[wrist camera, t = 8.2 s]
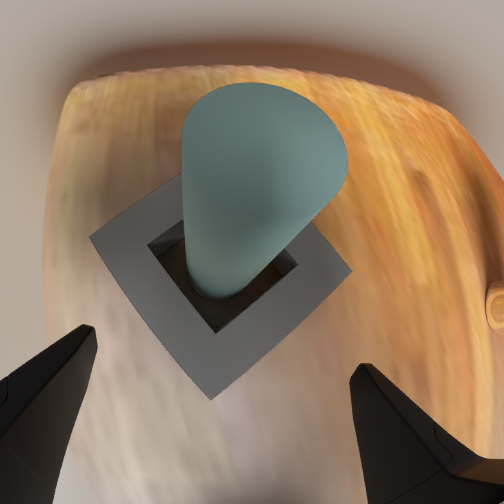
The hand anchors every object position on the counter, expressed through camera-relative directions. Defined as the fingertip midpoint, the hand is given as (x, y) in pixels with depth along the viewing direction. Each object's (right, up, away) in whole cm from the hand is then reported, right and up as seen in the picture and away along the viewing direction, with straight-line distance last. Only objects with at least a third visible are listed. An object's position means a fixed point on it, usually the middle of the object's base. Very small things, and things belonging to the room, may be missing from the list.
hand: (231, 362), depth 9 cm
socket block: (-2, +2, +10) cm, 10 cm away
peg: (-2, +2, +10) cm, 10 cm away
